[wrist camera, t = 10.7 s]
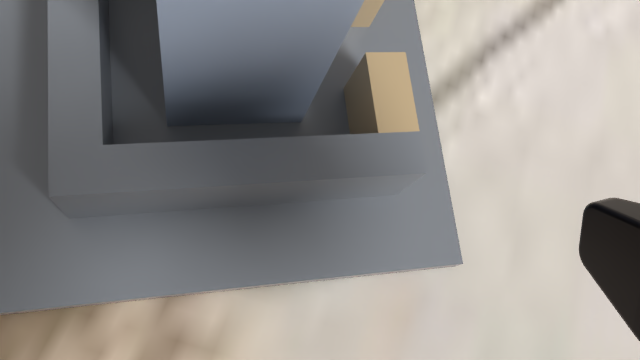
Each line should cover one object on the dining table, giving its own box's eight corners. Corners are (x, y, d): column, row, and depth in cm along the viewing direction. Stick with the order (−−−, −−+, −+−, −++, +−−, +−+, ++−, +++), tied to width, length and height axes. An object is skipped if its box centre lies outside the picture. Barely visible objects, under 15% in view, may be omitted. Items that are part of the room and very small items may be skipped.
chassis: (454, 266, 18) (504, 251, 15) (0, 314, 15) (-44, 308, 12) (386, -105, 22) (416, -172, 19) (6, -130, 18) (-26, -216, 16)
